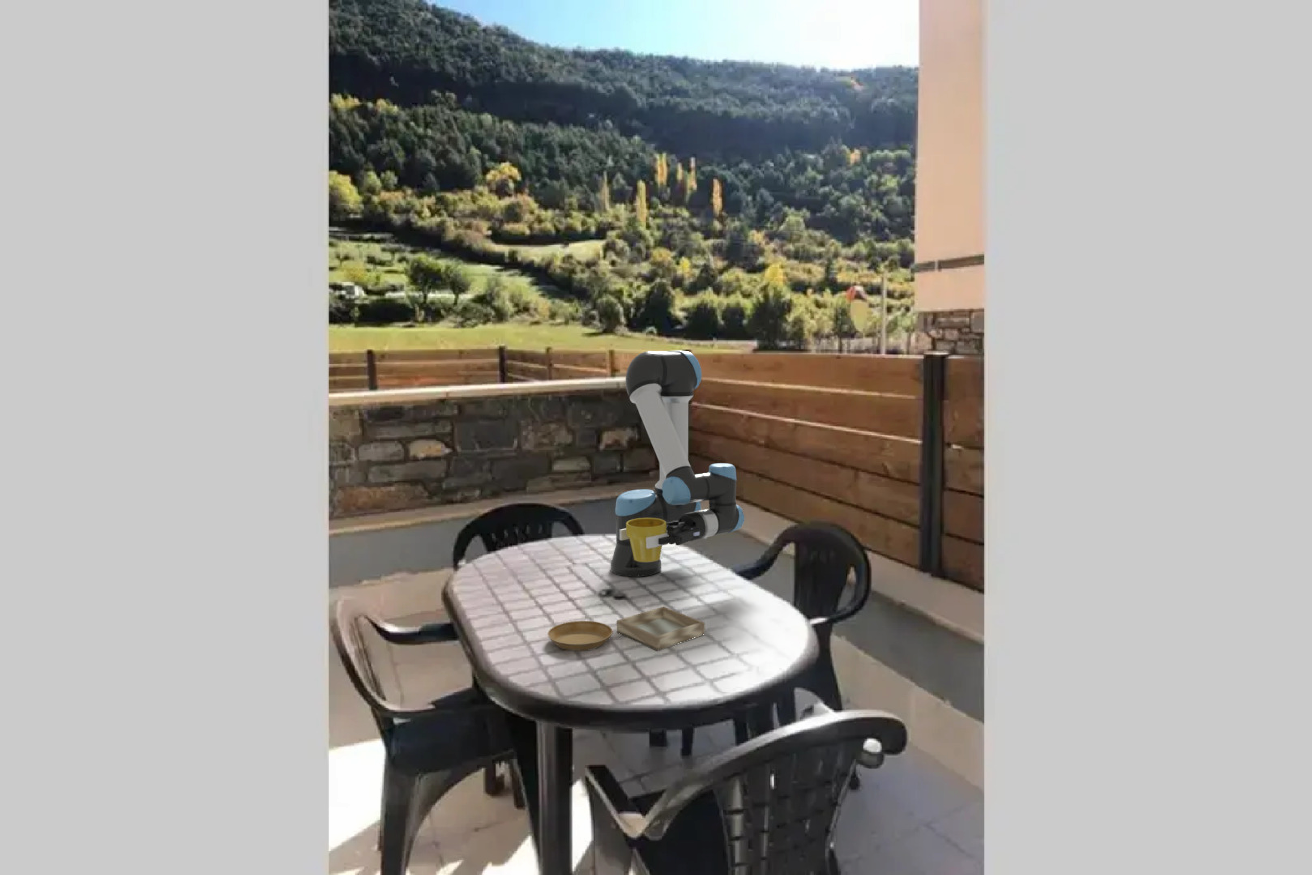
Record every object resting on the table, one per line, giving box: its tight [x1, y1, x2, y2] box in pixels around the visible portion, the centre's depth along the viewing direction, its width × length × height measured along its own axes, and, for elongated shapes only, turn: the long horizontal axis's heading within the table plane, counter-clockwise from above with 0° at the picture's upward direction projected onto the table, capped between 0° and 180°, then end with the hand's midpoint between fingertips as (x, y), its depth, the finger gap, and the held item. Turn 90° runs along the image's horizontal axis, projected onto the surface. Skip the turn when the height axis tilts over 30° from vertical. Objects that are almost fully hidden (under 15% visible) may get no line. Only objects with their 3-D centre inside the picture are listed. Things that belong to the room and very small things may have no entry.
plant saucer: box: [547, 620, 614, 652], centre depth 183 cm, size 15×15×3 cm
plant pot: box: [626, 518, 667, 562], centre depth 206 cm, size 10×10×10 cm
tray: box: [616, 606, 706, 652], centre depth 187 cm, size 15×15×3 cm
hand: (633, 539), depth 203 cm, fingers closed on plant pot, 10 cm apart
